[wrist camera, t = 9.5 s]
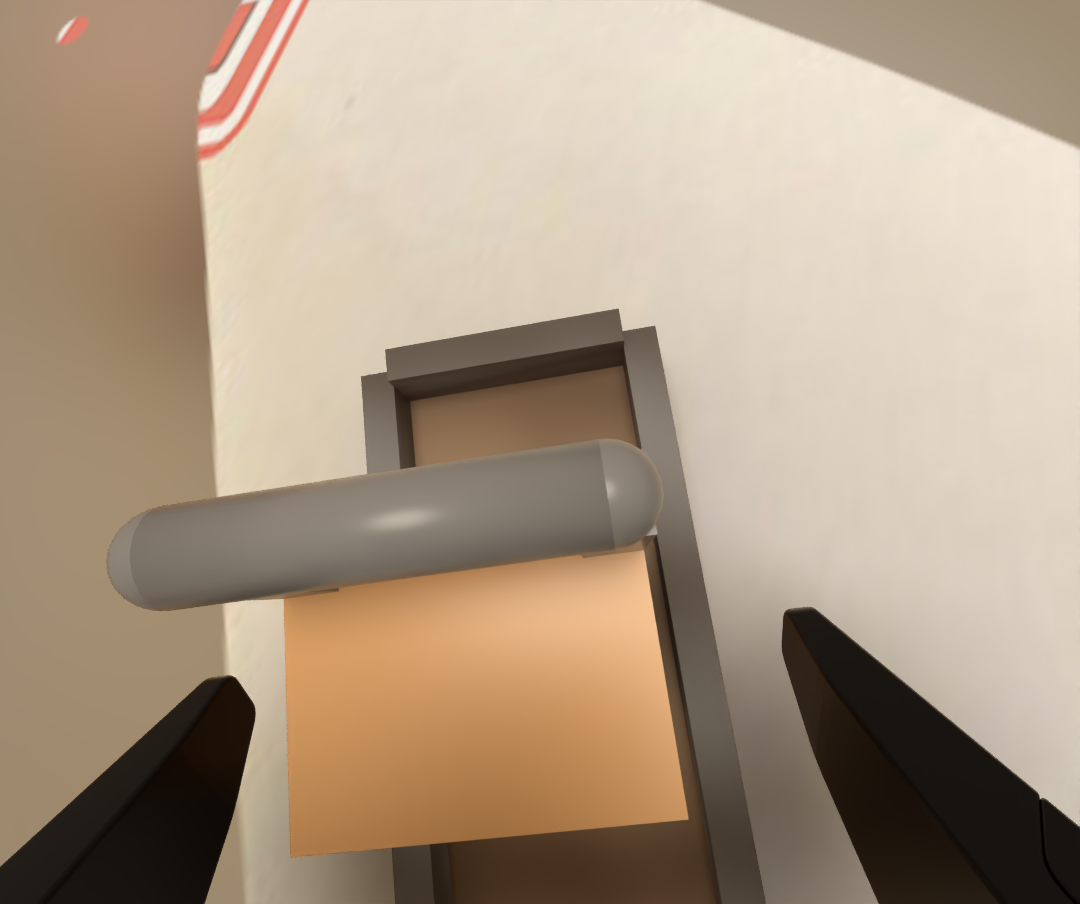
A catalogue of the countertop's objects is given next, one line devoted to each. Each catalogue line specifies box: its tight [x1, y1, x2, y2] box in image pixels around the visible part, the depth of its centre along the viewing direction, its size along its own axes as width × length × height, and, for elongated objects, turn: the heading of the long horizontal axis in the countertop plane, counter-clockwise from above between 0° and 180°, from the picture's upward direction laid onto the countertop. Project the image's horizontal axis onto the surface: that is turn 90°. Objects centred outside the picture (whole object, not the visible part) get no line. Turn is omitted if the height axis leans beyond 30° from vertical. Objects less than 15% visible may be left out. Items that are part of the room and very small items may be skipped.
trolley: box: [107, 438, 689, 857], centre depth 11 cm, size 6×5×13 cm
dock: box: [361, 309, 766, 904], centre depth 17 cm, size 18×9×4 cm, turn 8°
